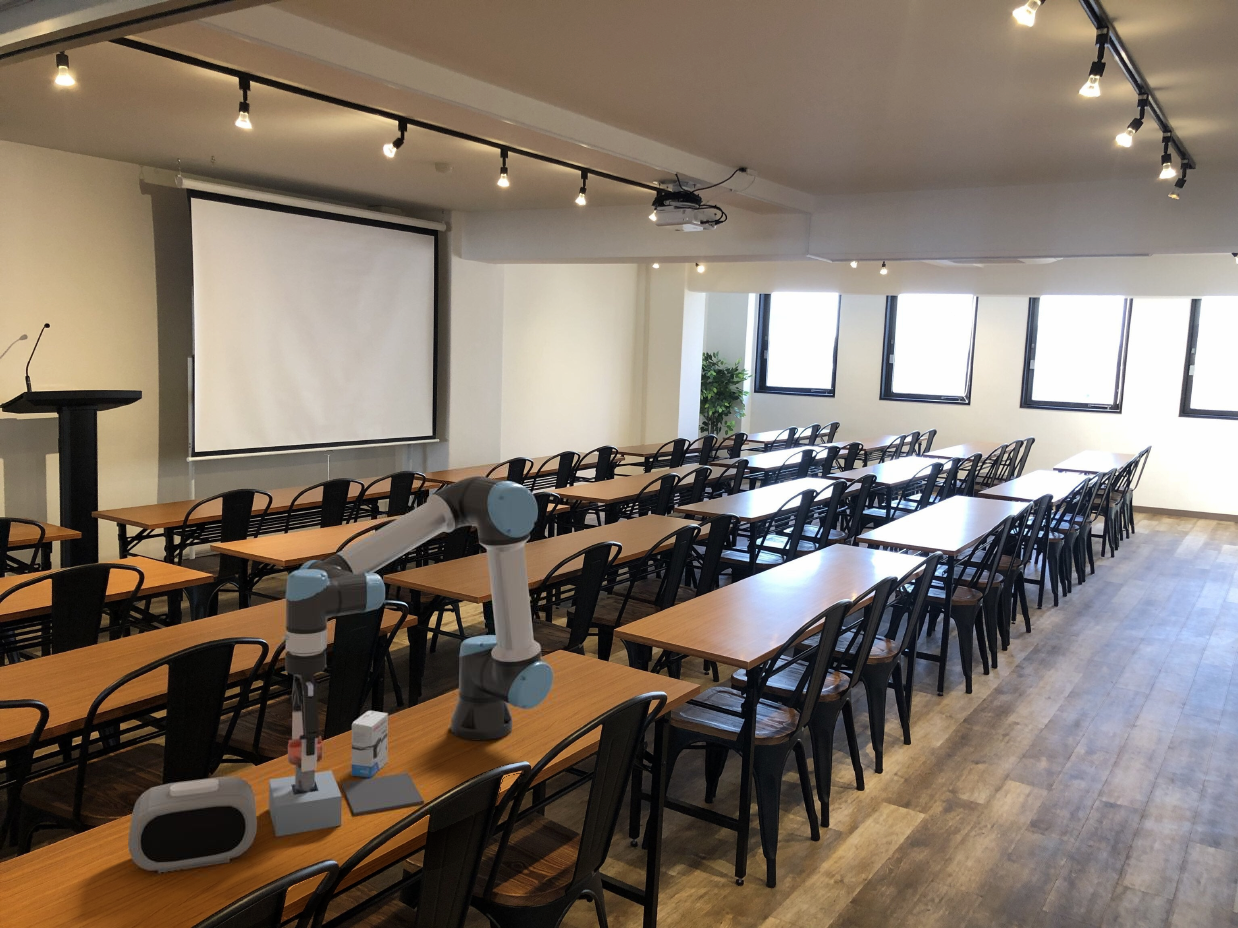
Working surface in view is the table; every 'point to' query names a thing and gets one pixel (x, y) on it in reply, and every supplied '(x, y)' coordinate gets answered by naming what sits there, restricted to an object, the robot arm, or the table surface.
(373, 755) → the ink box
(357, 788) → the mat
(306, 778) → the red-capped vial
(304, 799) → the eye block
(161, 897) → the table surface
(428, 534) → the robot arm
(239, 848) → the alarm clock
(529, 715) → the table surface
